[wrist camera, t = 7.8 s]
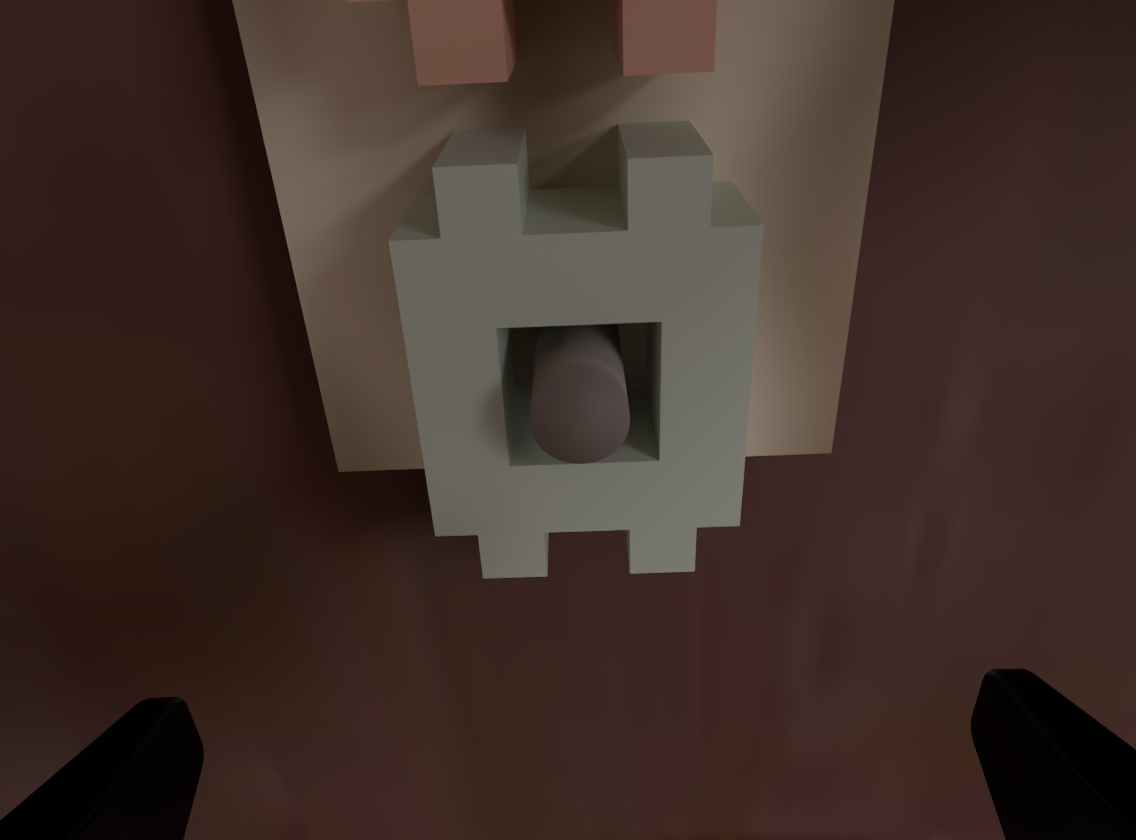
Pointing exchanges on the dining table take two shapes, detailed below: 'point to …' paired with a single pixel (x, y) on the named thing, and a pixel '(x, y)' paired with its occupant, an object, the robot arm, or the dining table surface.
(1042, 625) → the dining table surface
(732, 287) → the green gear
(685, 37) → the terracotta gear
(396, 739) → the dining table surface
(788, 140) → the peg board
